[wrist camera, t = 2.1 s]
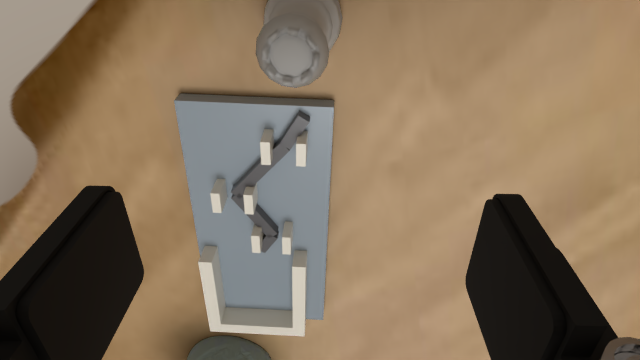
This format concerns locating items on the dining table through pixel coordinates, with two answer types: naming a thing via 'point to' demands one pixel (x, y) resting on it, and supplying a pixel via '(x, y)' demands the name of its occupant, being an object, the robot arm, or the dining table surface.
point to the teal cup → (227, 349)
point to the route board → (259, 207)
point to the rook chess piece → (297, 39)
